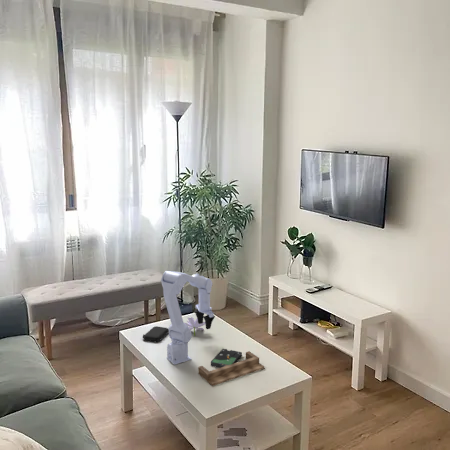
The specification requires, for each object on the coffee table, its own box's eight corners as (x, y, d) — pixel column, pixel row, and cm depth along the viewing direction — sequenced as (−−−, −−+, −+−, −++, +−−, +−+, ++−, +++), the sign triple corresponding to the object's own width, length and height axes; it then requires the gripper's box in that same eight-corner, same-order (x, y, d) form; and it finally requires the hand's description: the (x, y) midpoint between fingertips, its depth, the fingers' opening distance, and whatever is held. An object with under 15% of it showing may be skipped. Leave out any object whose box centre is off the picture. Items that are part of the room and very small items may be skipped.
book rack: (212, 386, 199) (212, 378, 198) (198, 374, 209) (198, 366, 208) (264, 368, 214) (264, 361, 213) (249, 358, 224) (249, 351, 223)
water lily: (188, 343, 254) (188, 327, 260) (213, 338, 250) (213, 322, 255) (175, 333, 244) (176, 317, 249) (201, 327, 239) (201, 311, 244)
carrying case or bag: (152, 329, 256) (139, 341, 242) (152, 324, 255) (139, 335, 241) (170, 332, 253) (158, 343, 239) (170, 327, 252) (158, 338, 238)
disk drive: (222, 353, 229) (210, 367, 216) (222, 348, 229) (210, 361, 215) (242, 357, 226) (231, 371, 212) (242, 351, 225) (231, 365, 212)
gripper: (218, 303, 230) (218, 329, 233) (203, 294, 242) (203, 319, 245) (206, 306, 227) (206, 332, 229) (191, 297, 239) (192, 322, 241)
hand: (204, 326), depth 237 cm, fingers open, 7 cm apart
